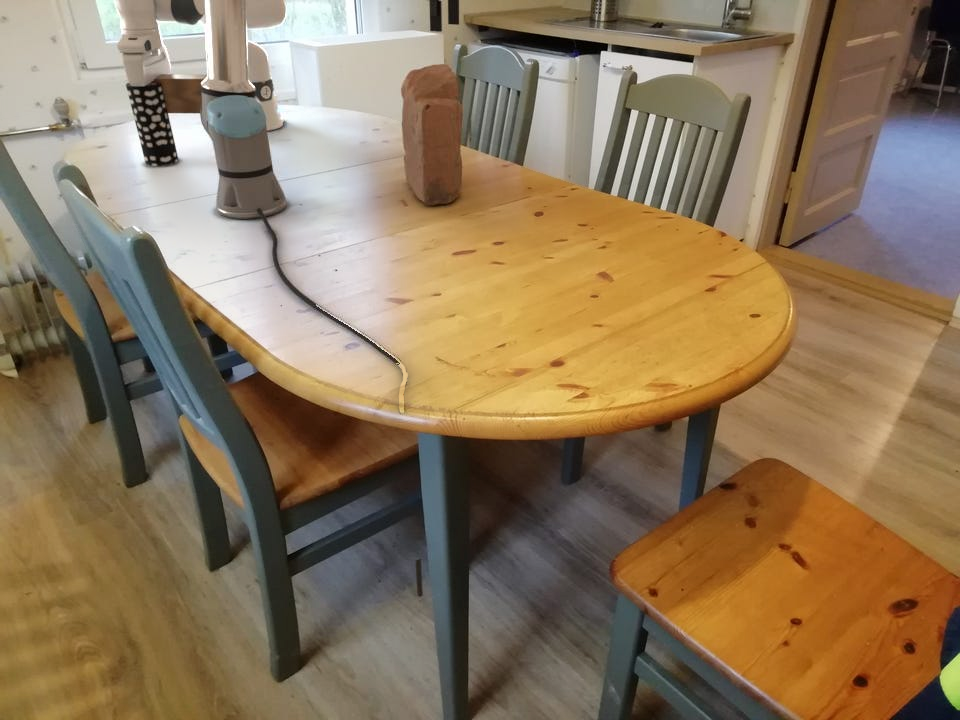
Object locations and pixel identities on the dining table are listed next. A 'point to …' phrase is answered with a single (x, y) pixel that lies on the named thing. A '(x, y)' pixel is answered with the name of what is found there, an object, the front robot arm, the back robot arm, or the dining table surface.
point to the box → (182, 92)
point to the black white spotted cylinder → (153, 124)
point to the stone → (432, 134)
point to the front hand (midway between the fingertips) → (445, 27)
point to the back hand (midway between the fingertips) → (156, 97)
